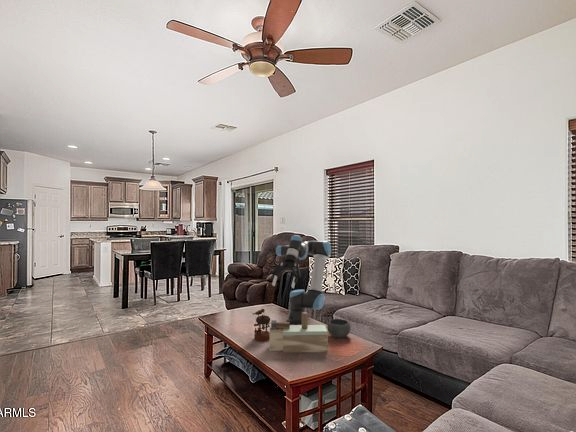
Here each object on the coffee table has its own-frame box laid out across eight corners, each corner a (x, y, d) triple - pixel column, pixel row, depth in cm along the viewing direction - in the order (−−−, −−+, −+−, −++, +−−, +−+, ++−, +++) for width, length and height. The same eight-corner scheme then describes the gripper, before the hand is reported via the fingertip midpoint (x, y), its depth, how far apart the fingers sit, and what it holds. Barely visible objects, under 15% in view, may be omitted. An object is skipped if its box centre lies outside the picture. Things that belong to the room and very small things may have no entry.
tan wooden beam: (273, 327, 193) (273, 322, 193) (289, 327, 193) (289, 322, 193) (272, 328, 191) (272, 323, 191) (289, 328, 191) (289, 323, 191)
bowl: (353, 335, 214) (353, 320, 214) (345, 342, 201) (345, 326, 201) (333, 331, 221) (332, 316, 222) (324, 338, 209) (324, 322, 209)
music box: (260, 344, 199) (258, 311, 201) (249, 341, 207) (247, 309, 208) (277, 337, 210) (275, 306, 212) (266, 335, 218) (265, 305, 219)
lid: (283, 328, 198) (282, 310, 198) (324, 327, 198) (324, 310, 199) (283, 335, 186) (282, 316, 186) (327, 334, 186) (327, 315, 187)
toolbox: (270, 344, 198) (270, 318, 198) (325, 344, 198) (324, 317, 199) (269, 352, 186) (269, 324, 186) (327, 352, 186) (327, 323, 187)
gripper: (272, 253, 213) (263, 282, 202) (306, 254, 202) (298, 285, 191) (277, 258, 219) (268, 287, 208) (310, 260, 207) (303, 290, 196)
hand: (282, 286), depth 199 cm, fingers open, 13 cm apart
